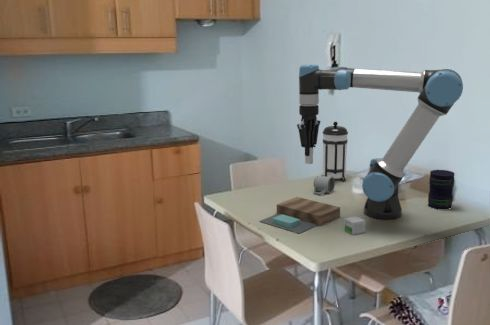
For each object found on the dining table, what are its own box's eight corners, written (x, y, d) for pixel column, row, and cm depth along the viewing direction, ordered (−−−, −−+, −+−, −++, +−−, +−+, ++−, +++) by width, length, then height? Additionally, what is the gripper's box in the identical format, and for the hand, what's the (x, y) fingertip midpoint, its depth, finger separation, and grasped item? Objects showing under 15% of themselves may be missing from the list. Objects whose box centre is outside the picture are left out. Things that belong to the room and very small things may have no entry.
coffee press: (312, 178, 265) (312, 121, 258) (334, 173, 274) (336, 118, 267) (335, 185, 251) (336, 125, 244) (358, 180, 260) (360, 122, 253)
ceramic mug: (319, 188, 248) (319, 173, 246) (335, 190, 243) (335, 175, 241) (309, 194, 239) (309, 178, 237) (325, 196, 235) (325, 180, 233)
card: (290, 223, 195) (290, 228, 195) (300, 219, 199) (300, 224, 199) (272, 218, 201) (272, 222, 201) (282, 214, 205) (282, 219, 206)
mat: (317, 225, 199) (317, 224, 199) (299, 233, 190) (299, 233, 190) (278, 214, 212) (278, 213, 212) (259, 221, 204) (259, 221, 204)
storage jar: (456, 206, 218) (459, 172, 214) (444, 211, 212) (446, 177, 208) (435, 201, 225) (438, 168, 222) (422, 205, 219) (425, 172, 216)
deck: (339, 216, 208) (340, 207, 207) (320, 225, 198) (320, 216, 197) (297, 205, 223) (297, 196, 222) (276, 213, 213) (276, 204, 212)
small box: (343, 230, 194) (344, 218, 192) (356, 227, 196) (356, 215, 195) (352, 235, 189) (353, 222, 187) (365, 232, 191) (365, 220, 190)
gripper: (310, 102, 206) (310, 159, 212) (291, 106, 197) (291, 165, 202) (326, 103, 201) (325, 161, 207) (307, 107, 192) (307, 167, 197)
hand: (309, 163), depth 204 cm, fingers closed
